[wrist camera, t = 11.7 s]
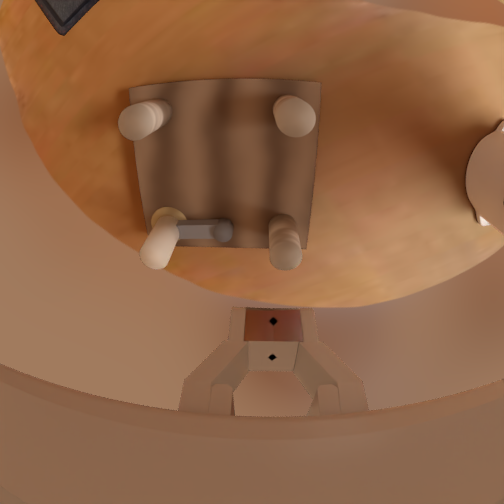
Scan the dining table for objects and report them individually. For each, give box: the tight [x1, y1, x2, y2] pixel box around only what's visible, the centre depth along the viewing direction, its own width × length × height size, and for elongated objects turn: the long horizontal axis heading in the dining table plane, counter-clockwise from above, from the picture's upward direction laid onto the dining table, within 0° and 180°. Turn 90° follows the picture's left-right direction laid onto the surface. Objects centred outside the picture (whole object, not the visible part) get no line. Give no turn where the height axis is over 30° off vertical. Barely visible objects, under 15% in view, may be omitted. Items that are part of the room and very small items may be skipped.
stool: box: [118, 79, 322, 270], centre depth 33 cm, size 22×22×10 cm
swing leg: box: [139, 216, 234, 270], centre depth 36 cm, size 10×4×7 cm, turn 91°
